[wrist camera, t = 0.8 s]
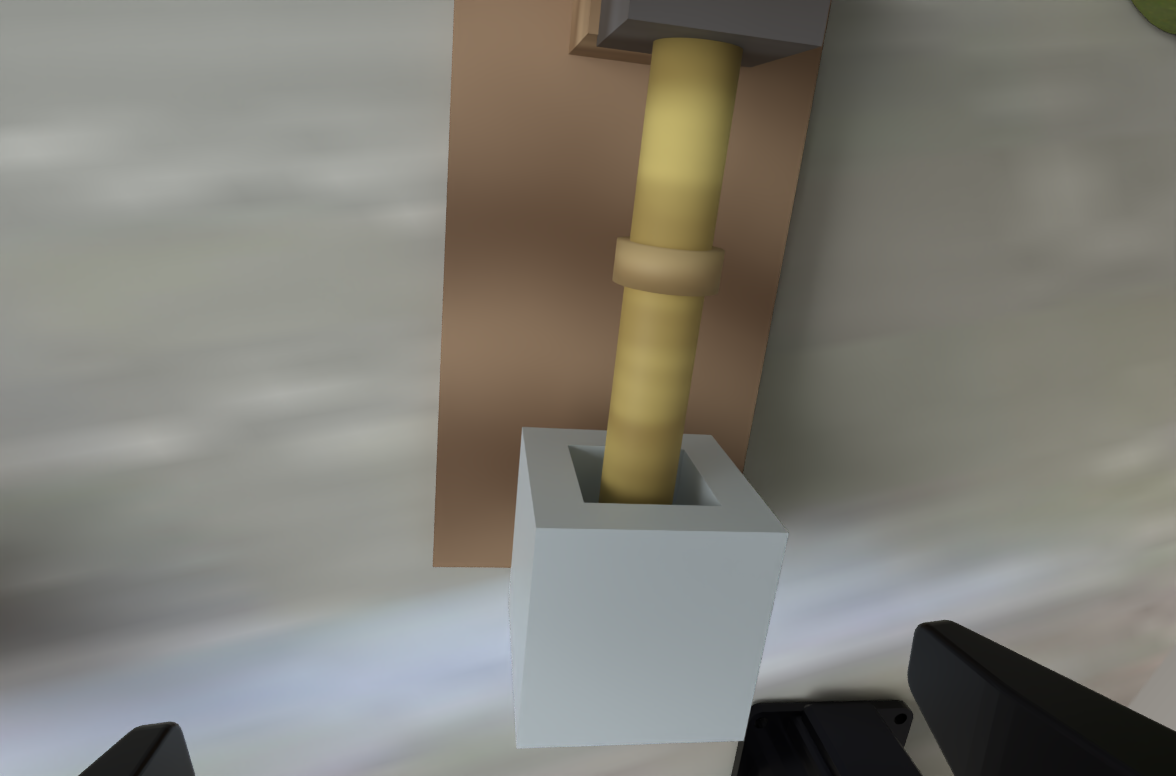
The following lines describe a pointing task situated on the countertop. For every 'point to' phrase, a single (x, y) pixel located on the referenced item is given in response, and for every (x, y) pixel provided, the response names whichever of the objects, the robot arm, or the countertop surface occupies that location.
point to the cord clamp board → (611, 237)
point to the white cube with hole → (636, 598)
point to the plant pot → (1159, 13)
